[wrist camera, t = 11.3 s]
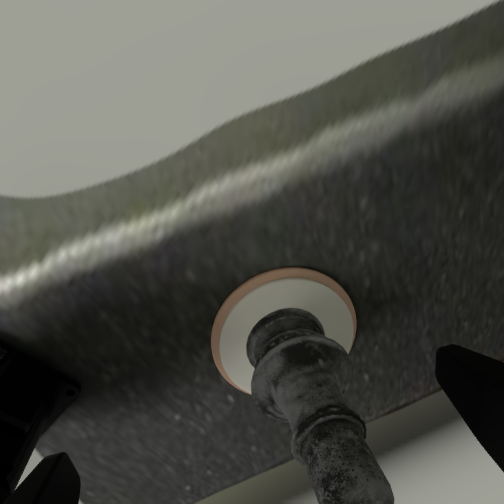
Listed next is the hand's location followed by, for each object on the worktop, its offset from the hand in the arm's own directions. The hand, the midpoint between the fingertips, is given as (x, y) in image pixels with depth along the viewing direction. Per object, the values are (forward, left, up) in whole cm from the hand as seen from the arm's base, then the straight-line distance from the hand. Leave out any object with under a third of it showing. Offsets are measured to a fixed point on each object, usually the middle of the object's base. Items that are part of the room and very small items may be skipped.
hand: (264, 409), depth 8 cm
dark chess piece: (-2, -8, -12) cm, 15 cm away
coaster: (-2, -8, -13) cm, 15 cm away
